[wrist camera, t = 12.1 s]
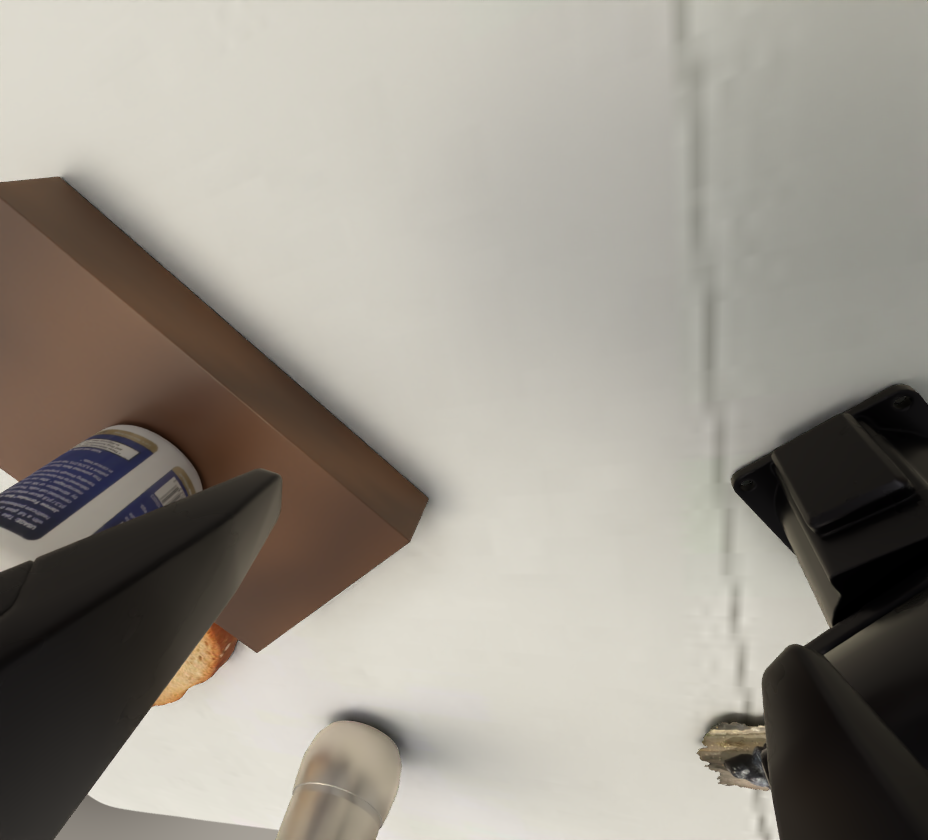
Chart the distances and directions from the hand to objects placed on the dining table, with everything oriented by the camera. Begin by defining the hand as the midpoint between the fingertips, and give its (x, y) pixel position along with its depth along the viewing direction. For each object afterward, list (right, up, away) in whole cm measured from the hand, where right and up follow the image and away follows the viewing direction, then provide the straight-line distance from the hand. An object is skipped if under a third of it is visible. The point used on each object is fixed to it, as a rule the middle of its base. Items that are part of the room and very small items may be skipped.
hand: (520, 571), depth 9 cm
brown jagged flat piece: (+16, -15, +19) cm, 29 cm away
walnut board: (-14, +2, +17) cm, 22 cm away
